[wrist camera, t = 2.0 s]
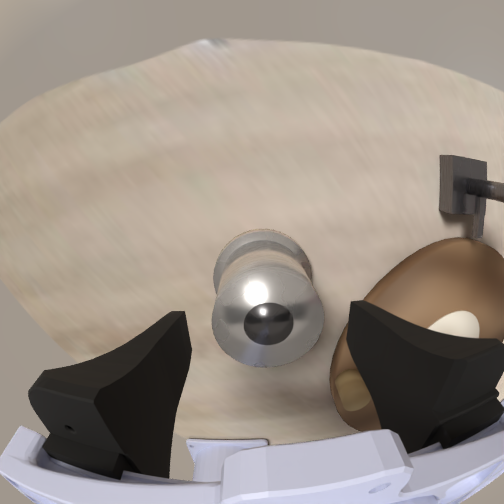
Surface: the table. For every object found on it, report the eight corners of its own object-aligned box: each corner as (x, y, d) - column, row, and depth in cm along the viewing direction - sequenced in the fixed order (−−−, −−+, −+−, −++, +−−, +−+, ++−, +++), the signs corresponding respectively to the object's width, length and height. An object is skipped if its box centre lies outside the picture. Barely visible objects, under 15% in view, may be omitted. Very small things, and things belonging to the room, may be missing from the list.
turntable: (468, 395, 23) (483, 414, 19) (317, 439, 23) (324, 470, 19) (519, 235, 17) (547, 246, 13) (341, 242, 17) (365, 262, 13)
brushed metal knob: (307, 313, 19) (329, 369, 13) (219, 318, 19) (209, 377, 13) (309, 226, 17) (339, 256, 11) (210, 231, 17) (192, 263, 11)
